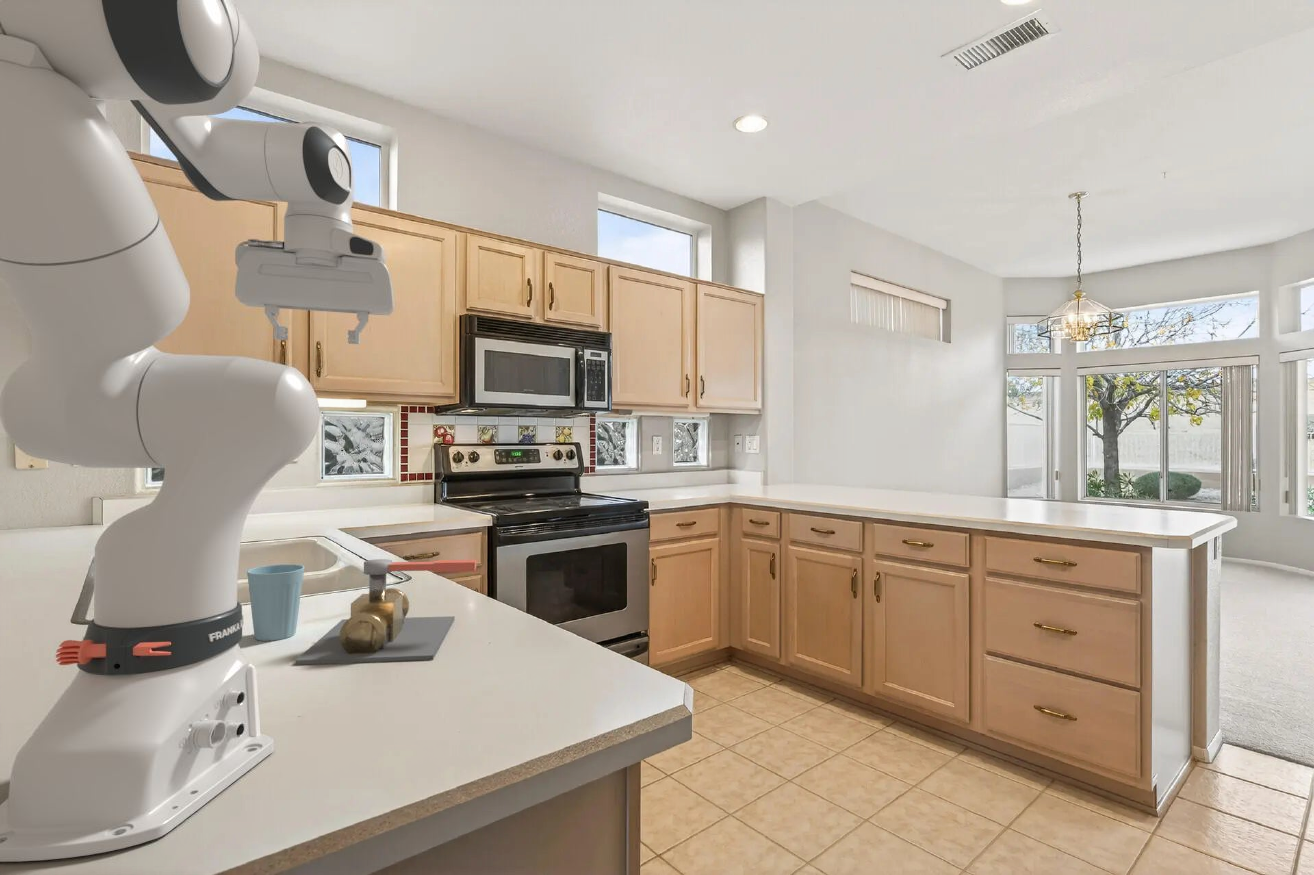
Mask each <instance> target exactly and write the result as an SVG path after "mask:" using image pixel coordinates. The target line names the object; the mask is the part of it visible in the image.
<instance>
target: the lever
mask: <svg viewBox="0 0 1314 875" xmlns="http://www.w3.org/2000/svg"><path fill="white" fill-rule="evenodd" d="M476 570H477V559H436V561H394V562H393V560H392V559H386V558H383V559H382V558H381V559H380V558H379V559H378V558H377V559H370V560H365V561H364V562H363V575H368V576H369V575H381V574H386V575H388V574H390V573H392V572H414V571H415V572H426V571H427V572H428V571H429V572H430V571H431V572H433V571H434V573H451V572H452V573H453V572H454V573H457V572H459V573H461V572H463V573H464V572H465V573H466V572H475V571H476Z"/></svg>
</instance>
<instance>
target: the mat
mask: <svg viewBox="0 0 1314 875" xmlns="http://www.w3.org/2000/svg"><path fill="white" fill-rule="evenodd" d="M348 619H349V618H347V619H346V618H345V619H341V620H340V621H339V622H338V623H337V624H335V625H334V626H333V627H332V628H331V629H329V631H328V632H327V633H325V634H324V635H323V636H322V637H320V638H319V639H318V640H317V641H316V642H315V643H314V644H313V645H311V646H310V647H309V648H308V649H307V650H306V651H304V652H303V653H302V654H301V655H300V656H299V657H297V659H295V663H294V664H295V665H296V666H297V665H298V666H299V665H323V664H326V665H327V664H348V663H349V664H350V663H351V664H352V663H353V664H354V663H379V662H402V661H403V662H404V661H405V662H406V661H426V660H427V661H431V660H434V659H435V657H436V655H437V653H438V652H439V649H440V648H441V645H442V643H443V642H444V640H445V638H446V636H447V635H448V632H449V631H450V629H451V627H452V626H453V623H454V622H455V616H426V617H425V616H422V617H419V616H418V617H417V616H416V617H405V618H404V624H403V625H402V631H401V632H400V633H399V634H398V636H397V637H396V638H395V639H394V641H393V642H389V643H388V644H387V645H386V646H385V648H384V649H378V650H377V651H376V652H375V653H357V654H349V653H348V652H346V651H345V650H344V648H343V647H342V645H341V643H340V630H341V628H342V626H343V624H344V623H345V622H346V621H347V620H348Z"/></svg>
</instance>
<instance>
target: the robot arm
mask: <svg viewBox="0 0 1314 875" xmlns="http://www.w3.org/2000/svg"><path fill="white" fill-rule="evenodd" d="M259 71H260V51H259V47H258V44H257V40H256V38H255V35H254V33H253V31H252V29H251V27H250V25H249V23H248V21H247V19H246V17H245V16H244V14H243V13H242V12H241V10H240V8H239V7H238V6H237V4H236V2H235V1H234V0H0V282H1V283H2V284H3V287H4V288H5V289H6V291H7V293H8V295H9V297H10V298H11V300H12V302H13V303H14V305H15V306H16V309H17V310H18V312H19V314H20V315H21V317H22V319H23V320H24V323H25V324H26V327H27V330H28V332H29V336H30V340H31V354H30V356H29V358H28V359H27V360H26V361H25V362H23V363H21V364H20V365H19V366H18V367H16V369H14V371H13V372H12V373H11V374H10V375H9V377H8V378H7V380H6V382H5V384H4V385H3V387H2V390H1V393H0V422H1V424H2V428H3V429H4V431H5V433H6V436H7V437H8V438H9V440H10V441H11V442H12V443H13V444H14V446H16V448H18V450H20V451H21V453H22V452H23V453H24V454H26V455H27V456H29V457H31V458H35V459H41V460H45V461H50V462H56V463H61V464H67V465H73V466H79V467H86V468H94V469H95V468H96V469H108V468H109V469H112V468H113V469H119V468H120V469H123V468H125V469H126V468H127V469H128V468H129V469H131V468H132V469H138V468H139V469H164V475H163V480H162V484H161V487H160V488H159V491H158V494H157V495H156V497H154V499H153V500H152V501H151V502H150V503H149V504H146V505H144V506H141V507H139V508H137V509H135V510H133V511H130V512H128V513H126V514H124V515H122V516H121V517H118V518H117V519H116V520H115V521H113V522H112V523H110V525H109V526H108V527H107V528H106V529H105V530H104V531H103V532H102V533H101V535H100V536H99V537H98V539H97V541H96V544H95V546H94V576H93V577H94V578H93V580H94V583H93V584H94V587H93V588H94V589H93V618H92V619H91V620H90V622H88V624H87V628H86V631H85V634H84V636H83V637H82V641H81V640H74V639H67V640H64V641H63V642H61V643H60V644H59V646H58V649H56V653H57V654H55V658H56V660H55V661H56V663H58V665H60V666H68V665H69V666H70V665H74V664H76V666H77V668H78V669H79V670H78V672H77V674H76V675H75V676H74V678H73V680H71V683H70V684H69V686H67V688H66V689H65V691H64V692H63V693H62V694H61V696H60V697H59V698H58V700H57V701H56V703H54V705H53V706H52V708H51V709H50V710H49V712H48V713H47V714H46V716H45V717H44V718H43V719H42V721H41V722H40V723H39V725H38V726H37V728H36V729H35V730H34V731H33V733H32V735H30V737H29V738H28V739H27V740H26V742H25V743H24V745H23V746H22V747H21V748H20V749H19V750H18V752H17V754H16V756H15V759H14V761H13V765H12V767H11V773H10V779H9V786H8V787H9V789H8V797H7V798H6V799H5V801H3V802H2V803H1V804H0V862H8V863H9V862H30V861H31V862H33V861H34V862H35V861H48V860H49V861H50V860H59V859H68V858H76V857H83V856H90V855H95V854H101V853H107V852H112V851H115V850H116V851H117V850H122V849H125V848H129V847H132V846H136V845H140V844H143V843H146V842H150V841H153V840H156V839H158V838H161V837H163V836H164V835H167V833H170V831H172V830H173V829H175V827H177V826H179V824H181V823H183V822H184V821H185V820H186V819H188V818H189V817H190V816H191V815H193V814H194V813H195V812H196V811H198V810H199V809H200V808H202V807H203V806H204V805H206V804H207V803H208V802H210V801H211V800H212V799H214V798H215V797H216V796H218V795H219V794H221V793H222V791H224V790H225V789H226V788H228V787H229V786H230V785H232V784H233V783H234V782H236V781H237V780H238V779H240V778H241V777H242V776H243V775H245V774H246V773H247V772H248V771H250V770H251V769H253V767H255V766H257V765H258V764H259V763H261V762H262V761H263V760H264V759H266V758H267V757H268V756H269V755H271V754H272V753H273V752H274V751H275V743H274V738H273V737H271V736H269V735H267V734H263V733H261V725H260V724H261V723H260V710H259V697H258V696H259V695H258V680H257V679H258V678H257V670H256V667H255V666H254V665H253V663H252V662H251V661H249V659H247V657H246V656H245V655H244V653H243V651H242V649H241V647H240V644H239V642H240V641H242V639H243V626H244V615H243V606H242V604H241V603H240V602H239V601H238V583H239V581H238V579H239V563H240V552H241V540H242V535H243V530H244V525H245V522H246V520H247V516H248V515H249V512H250V510H251V508H252V506H253V504H254V503H255V500H256V498H257V497H258V496H259V494H260V493H261V491H262V490H263V489H264V487H265V486H266V485H267V483H268V482H269V481H270V480H271V479H272V478H274V476H275V475H276V474H277V473H278V472H280V471H281V470H282V469H284V468H285V467H286V466H287V465H289V464H291V463H292V462H294V461H295V460H297V459H298V458H299V457H300V456H301V455H303V453H305V451H306V450H307V449H308V448H309V446H310V445H311V443H312V442H313V440H314V439H315V436H316V434H317V431H318V427H319V425H320V404H319V401H318V397H317V394H316V392H315V390H314V388H313V386H312V384H311V383H310V382H309V380H308V379H307V377H305V375H304V374H303V373H302V372H301V371H300V370H299V369H297V368H296V367H294V366H290V365H287V364H282V363H277V362H273V361H269V360H263V359H261V358H260V359H259V358H258V359H257V358H254V357H249V356H248V357H247V356H242V355H241V356H237V355H212V354H211V355H209V354H208V355H206V354H183V353H182V354H181V353H180V354H178V353H176V354H175V353H174V354H173V353H169V352H163V351H161V350H159V349H158V348H156V347H155V346H154V345H156V344H158V343H159V342H161V341H162V340H164V339H165V338H167V337H168V336H169V335H171V334H172V333H173V332H174V331H175V330H177V329H178V328H179V326H180V325H181V324H182V323H183V322H184V320H185V318H186V316H188V313H189V312H188V311H189V308H190V305H191V290H190V289H191V288H190V284H189V282H188V280H187V277H186V275H185V273H184V270H183V268H182V266H181V264H180V262H179V258H178V256H177V254H176V251H175V250H174V246H173V245H172V243H171V240H170V238H169V235H168V233H167V231H166V229H165V227H164V224H163V222H162V220H161V217H160V216H159V212H158V211H157V208H156V206H155V204H154V202H153V200H152V198H151V195H150V193H149V190H148V188H147V187H146V184H145V183H144V181H143V179H142V177H141V175H140V173H139V172H138V169H137V167H136V166H135V164H134V162H133V160H132V159H131V157H130V155H129V153H128V152H127V150H126V148H125V146H123V143H122V142H121V141H120V138H118V136H117V135H116V133H115V131H114V130H113V128H112V126H111V125H110V123H109V122H108V119H107V113H106V110H107V109H106V108H107V107H106V101H105V100H119V101H121V100H122V101H130V103H131V104H132V106H133V107H134V108H135V109H136V111H137V112H138V113H139V114H140V115H141V117H142V118H143V119H144V121H145V122H146V123H147V124H148V125H149V127H150V128H151V129H152V130H153V132H154V133H155V134H156V135H157V136H158V138H159V139H160V140H161V141H162V142H163V143H164V145H165V146H166V148H168V150H169V151H170V152H171V153H172V155H173V156H174V157H175V158H176V160H177V162H178V164H179V166H180V168H181V171H182V172H183V174H184V175H185V177H186V179H187V180H188V181H189V183H190V184H191V185H192V186H193V187H194V188H195V189H196V190H197V191H199V192H200V193H201V194H203V195H204V196H205V197H206V198H208V199H210V200H212V201H216V202H225V201H227V202H228V201H260V202H276V203H277V202H279V203H280V202H282V203H287V206H286V211H285V212H284V218H283V219H284V220H283V221H284V222H283V241H280V240H260V239H257V238H248V239H247V241H242V242H241V243H238V245H237V246H236V247H235V251H234V252H235V253H234V254H235V255H234V256H235V258H234V259H235V260H234V261H235V264H236V266H237V271H236V278H235V285H234V294H235V295H234V296H235V297H236V299H237V300H238V301H239V302H240V303H241V304H243V305H244V306H247V307H252V308H253V307H255V308H256V307H257V308H264V314H265V316H266V318H267V319H268V321H269V322H270V324H271V325H272V326H273V339H274V340H276V341H288V339H289V336H288V334H289V328H288V327H287V326H284V325H283V326H282V325H281V324H280V322H279V321H278V319H277V318H276V316H277V317H278V316H280V309H287V310H299V311H313V312H314V311H315V312H329V313H341V314H342V313H344V314H356V319H357V320H358V324H357V325H356V327H355V328H354V330H352V329H351V330H350V329H349V330H347V336H348V337H347V343H348V344H350V345H351V344H352V345H361V333H362V332H363V330H364V329H365V328H366V326H367V325H368V324H369V320H370V319H369V316H370V315H374V316H390V315H391V314H392V313H393V312H394V311H395V298H394V297H395V296H394V289H393V283H392V282H393V281H392V278H391V277H392V276H391V274H390V272H389V269H388V267H387V266H386V258H387V257H386V256H387V255H386V251H385V249H384V247H383V246H382V245H381V244H380V243H378V242H376V241H373V240H372V239H371V240H370V239H368V238H366V237H363V236H361V235H358V234H355V233H354V224H353V220H352V217H351V215H352V214H351V211H352V210H351V209H352V207H353V204H354V200H355V199H354V198H355V191H354V190H355V187H354V182H355V181H354V170H353V169H354V168H353V162H352V155H351V150H350V145H349V142H348V140H347V139H346V137H345V136H344V135H343V134H342V133H341V132H340V131H338V130H337V129H335V128H333V127H331V126H329V125H327V124H325V123H321V122H316V121H303V122H302V121H301V122H299V123H293V122H284V121H283V122H282V121H281V122H280V121H263V120H262V121H261V120H248V119H234V118H225V117H224V118H223V117H216V116H215V115H220V114H224V113H227V112H230V111H231V110H233V109H235V108H237V106H239V105H241V103H243V102H244V101H245V100H246V98H247V97H248V96H249V95H250V93H251V92H252V90H253V89H254V87H255V84H256V83H257V79H258V76H259Z"/></svg>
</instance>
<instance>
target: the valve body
mask: <svg viewBox="0 0 1314 875" xmlns="http://www.w3.org/2000/svg"><path fill="white" fill-rule="evenodd" d="M368 579H369V580H368V582H369V583H368V586H369V587H368V588H369V589H368V593H362V594H361V595H359V597H357V598H356V599H355V600H354V601H352V602H351V603H350V617H349V618H347V619H348V620H347V621H346V622H345V623H344V624H343V626H342V628H341V630H340V643H341V645H342V647H343V648H344V650H345V651H346V652H348V653H349V654H357V653H375V652H376V651H377V650H378V649H384V648H385V646H386V645H387V644H388V643H389V642H393V641H394V639H395V638H396V637H397V636H398V634H399V633H400V632H401V631H402V625H403V624H404V618H406V616H407V614H409V609H410V602H409V598H408V596H407V594H405V593H404V592H403V591H402V590H400V589H397V588H394V587H389V588H387V574H381V575H368Z"/></svg>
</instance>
